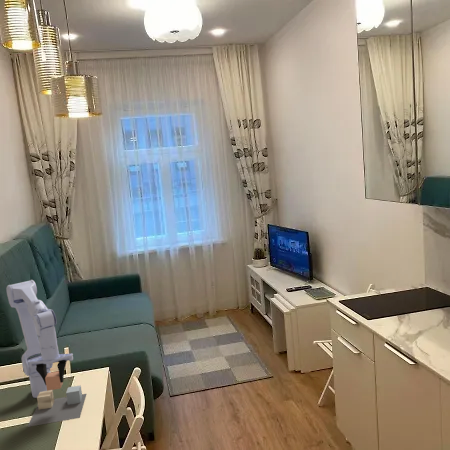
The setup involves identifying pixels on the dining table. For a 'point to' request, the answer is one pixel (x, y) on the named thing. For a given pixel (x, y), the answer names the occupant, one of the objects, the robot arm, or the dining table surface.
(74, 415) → the mat
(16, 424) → the dining table surface
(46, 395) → the birch block
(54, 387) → the terracotta block
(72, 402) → the slate block
